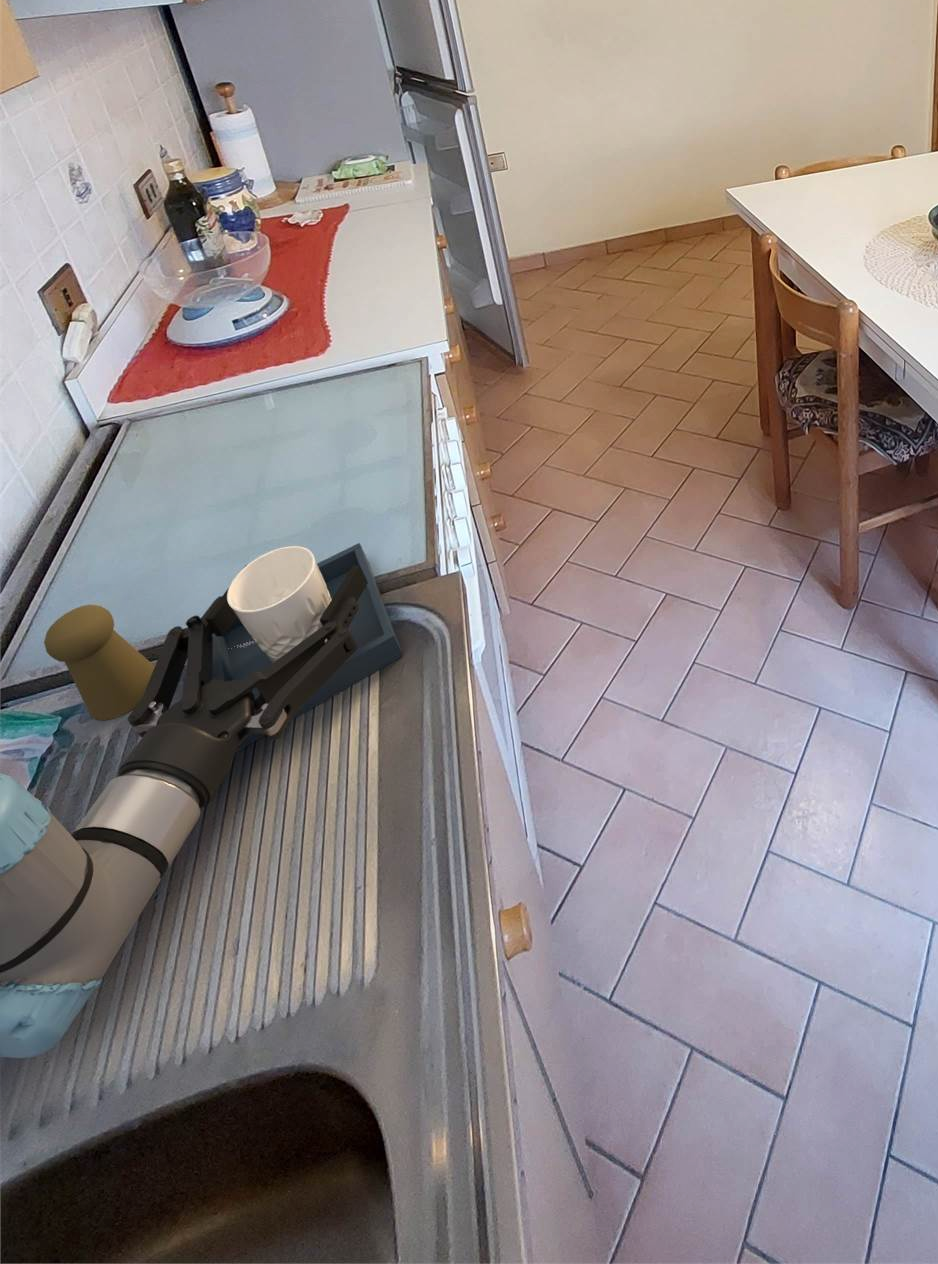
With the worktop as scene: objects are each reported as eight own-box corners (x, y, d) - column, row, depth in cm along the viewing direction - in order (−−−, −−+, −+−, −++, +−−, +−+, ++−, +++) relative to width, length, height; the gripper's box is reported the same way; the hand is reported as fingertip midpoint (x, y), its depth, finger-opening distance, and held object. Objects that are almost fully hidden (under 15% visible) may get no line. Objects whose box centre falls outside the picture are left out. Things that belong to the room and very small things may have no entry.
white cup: (331, 596, 89) (299, 533, 84) (358, 639, 84) (326, 574, 79) (255, 644, 84) (217, 580, 79) (279, 692, 79) (239, 627, 74)
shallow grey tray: (219, 637, 86) (206, 617, 85) (368, 561, 94) (359, 542, 92) (235, 752, 75) (220, 731, 73) (403, 656, 82) (393, 635, 81)
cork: (160, 694, 81) (109, 623, 76) (89, 733, 78) (30, 662, 73) (156, 653, 85) (107, 583, 80) (88, 688, 82) (33, 618, 77)
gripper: (52, 813, 69) (218, 596, 87) (310, 822, 66) (423, 597, 85) (5, 763, 65) (188, 549, 84) (277, 771, 62) (402, 548, 81)
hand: (307, 573), depth 84 cm, fingers open, 11 cm apart
